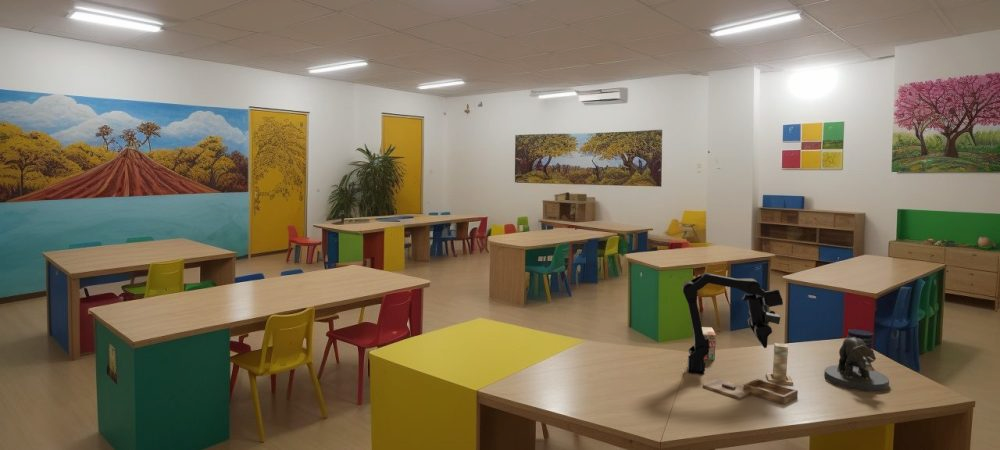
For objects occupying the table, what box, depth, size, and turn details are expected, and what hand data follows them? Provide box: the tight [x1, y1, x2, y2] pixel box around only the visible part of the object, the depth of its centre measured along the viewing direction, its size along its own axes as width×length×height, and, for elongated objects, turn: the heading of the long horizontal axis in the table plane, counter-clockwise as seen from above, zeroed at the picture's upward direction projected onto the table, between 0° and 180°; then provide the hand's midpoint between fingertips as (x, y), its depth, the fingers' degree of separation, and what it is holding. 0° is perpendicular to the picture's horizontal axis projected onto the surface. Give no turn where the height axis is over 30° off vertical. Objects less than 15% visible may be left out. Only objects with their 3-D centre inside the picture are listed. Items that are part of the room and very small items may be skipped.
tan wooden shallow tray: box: [742, 378, 799, 406], centre depth 232 cm, size 16×11×3 cm
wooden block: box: [772, 342, 789, 380], centre depth 247 cm, size 5×5×15 cm
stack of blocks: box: [702, 326, 717, 361], centre depth 283 cm, size 21×6×12 cm, turn 168°
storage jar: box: [847, 328, 874, 367], centre depth 268 cm, size 10×10×15 cm
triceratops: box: [823, 337, 890, 393], centre depth 247 cm, size 23×35×18 cm, turn 165°
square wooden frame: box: [765, 371, 794, 386], centre depth 248 cm, size 9×9×1 cm
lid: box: [702, 378, 752, 400], centre depth 236 cm, size 16×11×2 cm
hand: (763, 344), depth 251 cm, fingers open, 9 cm apart
